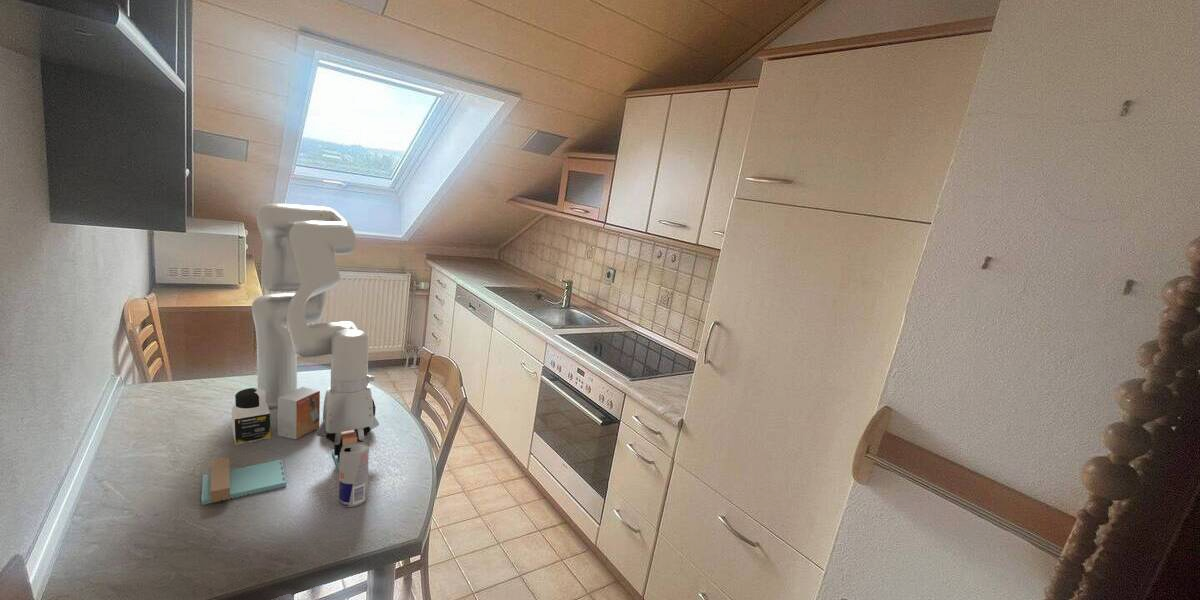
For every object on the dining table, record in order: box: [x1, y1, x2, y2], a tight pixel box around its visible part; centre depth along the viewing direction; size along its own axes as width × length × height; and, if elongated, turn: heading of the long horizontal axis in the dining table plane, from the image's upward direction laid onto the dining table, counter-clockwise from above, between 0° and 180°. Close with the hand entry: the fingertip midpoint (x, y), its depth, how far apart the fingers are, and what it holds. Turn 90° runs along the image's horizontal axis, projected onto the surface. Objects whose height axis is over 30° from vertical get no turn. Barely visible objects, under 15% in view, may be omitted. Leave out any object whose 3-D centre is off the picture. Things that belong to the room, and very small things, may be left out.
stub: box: [332, 430, 357, 471], centre depth 114 cm, size 10×5×7 cm, turn 37°
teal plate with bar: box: [200, 456, 287, 506], centre depth 102 cm, size 13×14×3 cm
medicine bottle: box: [231, 387, 272, 445], centre depth 119 cm, size 7×7×12 cm
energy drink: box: [338, 441, 370, 508], centre depth 100 cm, size 5×5×12 cm
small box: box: [277, 386, 321, 440], centre depth 124 cm, size 8×6×10 cm
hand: (348, 454), depth 114 cm, fingers closed on stub, 3 cm apart
